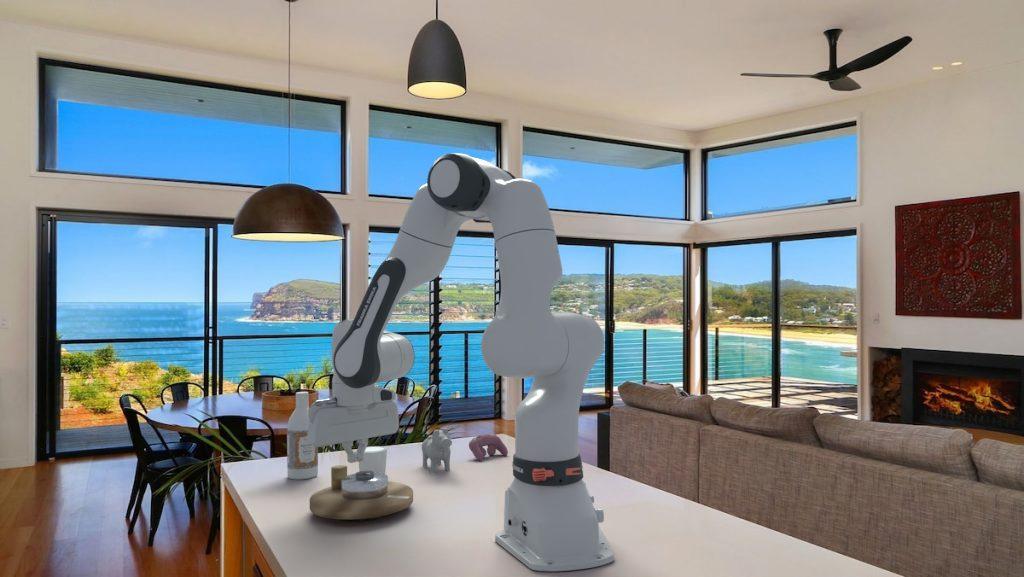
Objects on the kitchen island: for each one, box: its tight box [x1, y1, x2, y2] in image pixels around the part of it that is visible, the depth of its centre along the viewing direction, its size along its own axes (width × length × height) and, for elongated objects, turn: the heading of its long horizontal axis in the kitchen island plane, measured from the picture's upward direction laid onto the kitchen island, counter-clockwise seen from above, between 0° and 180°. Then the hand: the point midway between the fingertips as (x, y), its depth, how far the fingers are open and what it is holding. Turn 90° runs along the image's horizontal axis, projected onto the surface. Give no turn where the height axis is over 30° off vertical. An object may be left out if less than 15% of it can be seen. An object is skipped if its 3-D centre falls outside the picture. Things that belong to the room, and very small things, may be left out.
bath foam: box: [286, 391, 319, 481], centre depth 159 cm, size 7×7×20 cm
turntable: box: [309, 464, 414, 520], centre depth 132 cm, size 20×20×6 cm
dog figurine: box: [421, 427, 453, 474], centre depth 163 cm, size 5×13×11 cm, turn 27°
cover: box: [342, 471, 389, 500], centre depth 133 cm, size 9×9×4 cm
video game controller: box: [468, 433, 509, 462], centre depth 176 cm, size 10×5×7 cm, turn 130°
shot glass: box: [358, 445, 388, 474], centre depth 156 cm, size 7×7×7 cm
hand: (355, 461), depth 140 cm, fingers closed
